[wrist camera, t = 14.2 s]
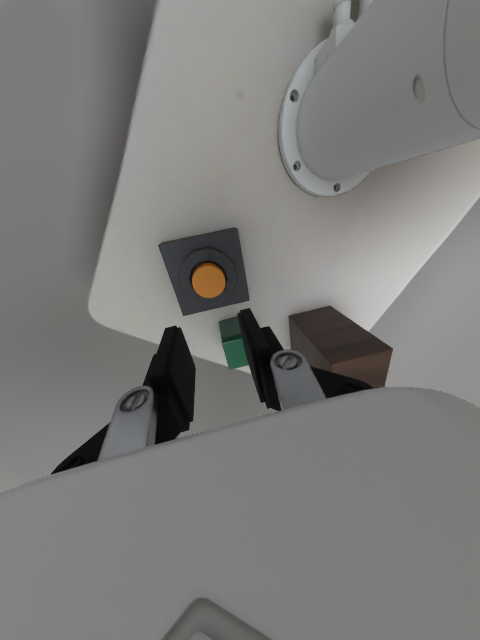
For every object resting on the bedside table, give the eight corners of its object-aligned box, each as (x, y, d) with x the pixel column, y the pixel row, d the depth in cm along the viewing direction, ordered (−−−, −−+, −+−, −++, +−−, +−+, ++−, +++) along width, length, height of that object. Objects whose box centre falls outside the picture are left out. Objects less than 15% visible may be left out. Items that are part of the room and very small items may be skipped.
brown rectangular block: (288, 315, 32) (331, 364, 21) (330, 305, 32) (393, 348, 21) (291, 351, 35) (329, 408, 24) (329, 341, 35) (383, 393, 25)
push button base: (161, 242, 24) (154, 246, 21) (234, 227, 25) (240, 228, 21) (184, 309, 28) (182, 322, 25) (246, 295, 29) (252, 305, 25)
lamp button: (188, 266, 22) (187, 269, 21) (220, 259, 23) (221, 262, 21) (197, 296, 24) (197, 301, 22) (227, 289, 24) (228, 294, 23)
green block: (218, 321, 30) (222, 343, 25) (247, 314, 30) (256, 334, 25) (224, 345, 32) (229, 370, 27) (251, 338, 32) (261, 362, 27)
